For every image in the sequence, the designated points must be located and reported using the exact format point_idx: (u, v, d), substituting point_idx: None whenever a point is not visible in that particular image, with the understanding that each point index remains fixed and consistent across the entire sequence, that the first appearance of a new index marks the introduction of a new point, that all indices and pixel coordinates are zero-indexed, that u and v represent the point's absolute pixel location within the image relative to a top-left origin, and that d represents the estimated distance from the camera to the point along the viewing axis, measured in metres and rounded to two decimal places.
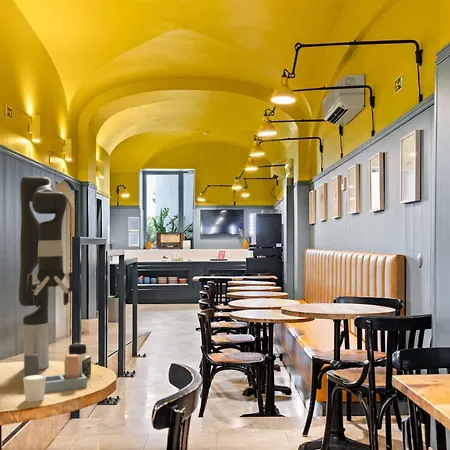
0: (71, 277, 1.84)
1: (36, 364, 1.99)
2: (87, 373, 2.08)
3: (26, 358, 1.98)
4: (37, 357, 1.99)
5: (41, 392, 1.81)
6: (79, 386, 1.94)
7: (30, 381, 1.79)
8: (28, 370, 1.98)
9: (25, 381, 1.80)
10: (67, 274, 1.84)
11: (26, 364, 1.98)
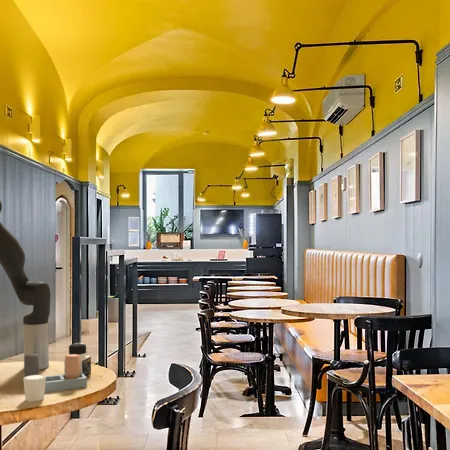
0: None
1: (36, 364, 1.99)
2: (87, 373, 2.08)
3: (26, 358, 1.98)
4: (37, 357, 1.99)
5: (41, 392, 1.81)
6: (79, 386, 1.94)
7: (30, 381, 1.79)
8: (28, 370, 1.98)
9: (25, 381, 1.80)
10: None
11: (26, 364, 1.98)
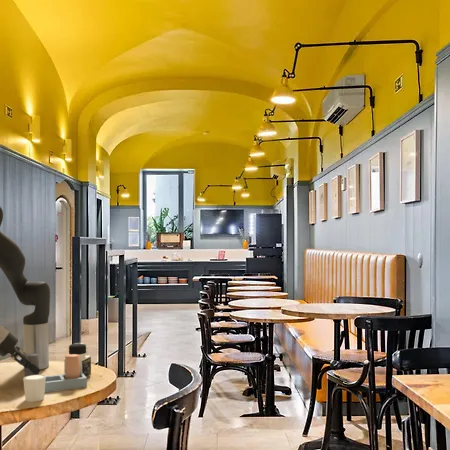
0: None
1: (36, 364, 1.99)
2: (87, 373, 2.08)
3: None
4: (37, 357, 1.99)
5: (41, 392, 1.81)
6: (79, 386, 1.94)
7: (30, 381, 1.79)
8: (28, 370, 1.98)
9: (25, 381, 1.80)
10: None
11: None
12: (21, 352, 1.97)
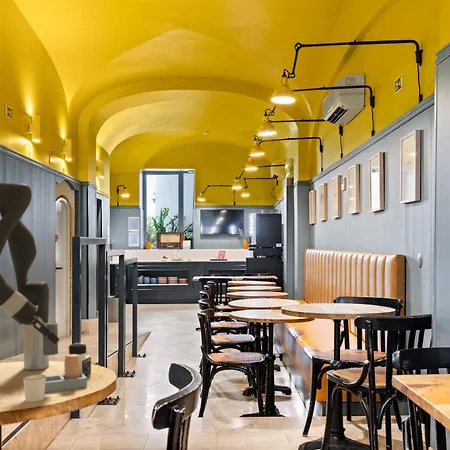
0: (36, 329, 1.88)
1: (54, 333, 1.93)
2: (87, 373, 2.08)
3: None
4: (56, 326, 1.94)
5: (41, 392, 1.81)
6: (79, 386, 1.94)
7: (30, 381, 1.79)
8: (47, 339, 1.92)
9: (25, 381, 1.80)
10: (35, 324, 1.88)
11: None
12: (40, 320, 1.91)
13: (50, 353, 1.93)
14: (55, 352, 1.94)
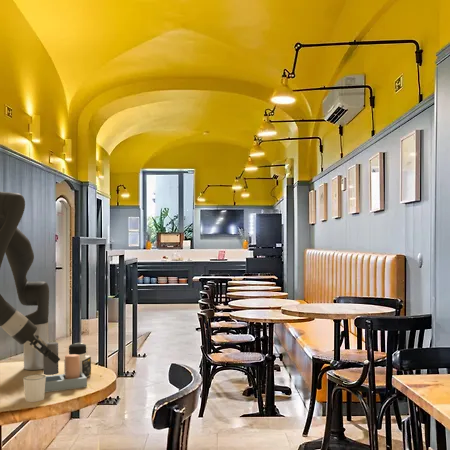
0: (37, 349, 1.87)
1: (55, 353, 1.93)
2: (87, 373, 2.08)
3: None
4: (56, 345, 1.94)
5: (41, 392, 1.81)
6: (79, 386, 1.94)
7: (30, 381, 1.79)
8: (47, 358, 1.92)
9: (25, 381, 1.79)
10: None
11: (45, 352, 1.93)
12: (40, 340, 1.91)
13: (51, 373, 1.92)
14: (56, 372, 1.93)
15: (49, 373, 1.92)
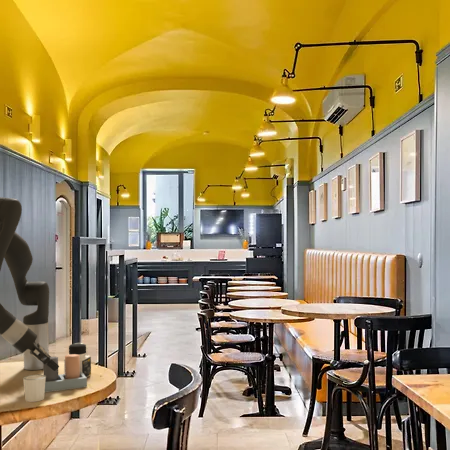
0: (35, 356, 1.87)
1: None
2: (87, 373, 2.08)
3: None
4: (56, 360, 1.94)
5: (41, 392, 1.81)
6: (79, 386, 1.94)
7: (30, 381, 1.79)
8: (47, 373, 1.92)
9: (25, 381, 1.80)
10: None
11: (45, 367, 1.93)
12: (40, 348, 1.91)
13: None
14: None
15: None
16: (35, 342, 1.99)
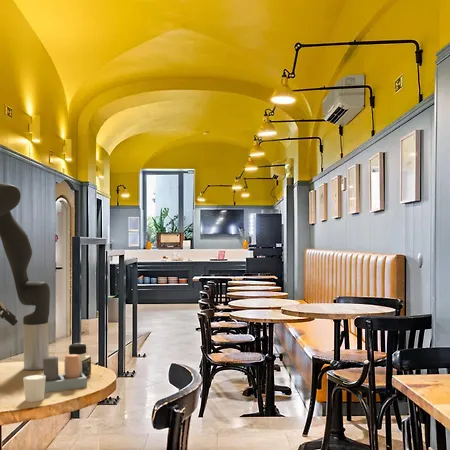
0: None
1: (55, 368, 1.93)
2: (87, 373, 2.08)
3: (45, 361, 1.93)
4: (56, 360, 1.94)
5: (41, 392, 1.81)
6: (79, 386, 1.94)
7: (30, 382, 1.79)
8: (47, 373, 1.92)
9: (25, 381, 1.79)
10: None
11: (45, 367, 1.93)
12: None
13: None
14: None
15: None
16: None
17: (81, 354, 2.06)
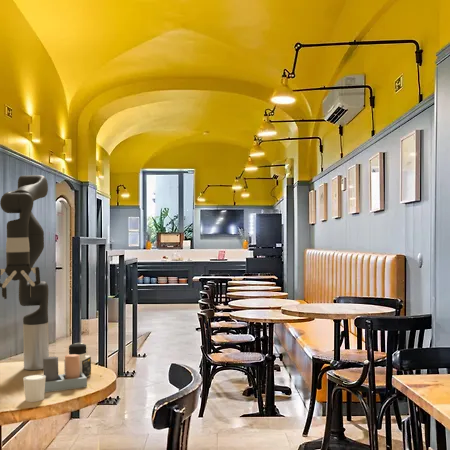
0: (37, 271, 2.00)
1: (55, 368, 1.93)
2: (87, 373, 2.08)
3: (45, 361, 1.93)
4: (56, 360, 1.94)
5: (41, 392, 1.81)
6: (79, 386, 1.94)
7: (30, 382, 1.79)
8: (47, 373, 1.92)
9: (25, 381, 1.79)
10: (33, 269, 2.00)
11: (45, 367, 1.93)
12: None
13: None
14: None
15: None
16: None
17: (81, 354, 2.06)
